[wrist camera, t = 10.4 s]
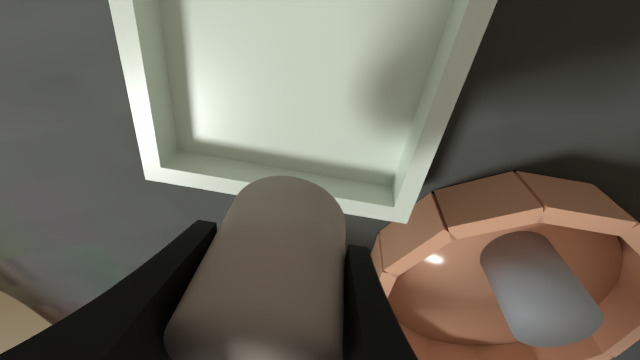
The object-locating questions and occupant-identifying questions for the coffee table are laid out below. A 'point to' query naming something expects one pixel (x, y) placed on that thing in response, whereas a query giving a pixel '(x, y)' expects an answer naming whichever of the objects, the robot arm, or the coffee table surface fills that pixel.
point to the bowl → (472, 284)
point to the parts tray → (297, 91)
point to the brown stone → (267, 280)
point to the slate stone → (538, 291)
